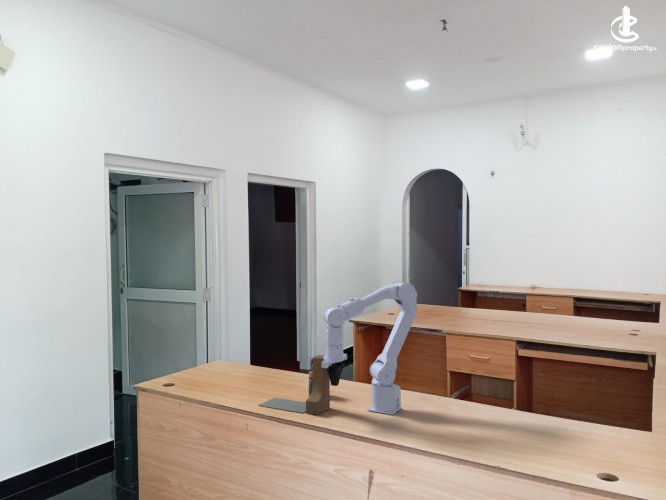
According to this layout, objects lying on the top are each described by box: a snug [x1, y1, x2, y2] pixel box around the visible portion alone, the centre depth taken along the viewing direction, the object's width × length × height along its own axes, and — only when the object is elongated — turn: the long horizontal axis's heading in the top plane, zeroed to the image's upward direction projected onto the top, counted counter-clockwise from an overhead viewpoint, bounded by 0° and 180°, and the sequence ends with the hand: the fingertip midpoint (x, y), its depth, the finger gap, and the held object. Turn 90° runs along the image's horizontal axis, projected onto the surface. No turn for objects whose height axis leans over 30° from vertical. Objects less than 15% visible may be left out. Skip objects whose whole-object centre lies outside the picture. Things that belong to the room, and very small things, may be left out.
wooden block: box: [305, 354, 331, 416], centre depth 175 cm, size 9×4×18 cm, turn 152°
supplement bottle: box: [308, 364, 313, 397], centre depth 193 cm, size 6×6×11 cm
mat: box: [258, 397, 306, 414], centre depth 181 cm, size 18×10×1 cm, turn 62°
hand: (334, 385), depth 172 cm, fingers closed
